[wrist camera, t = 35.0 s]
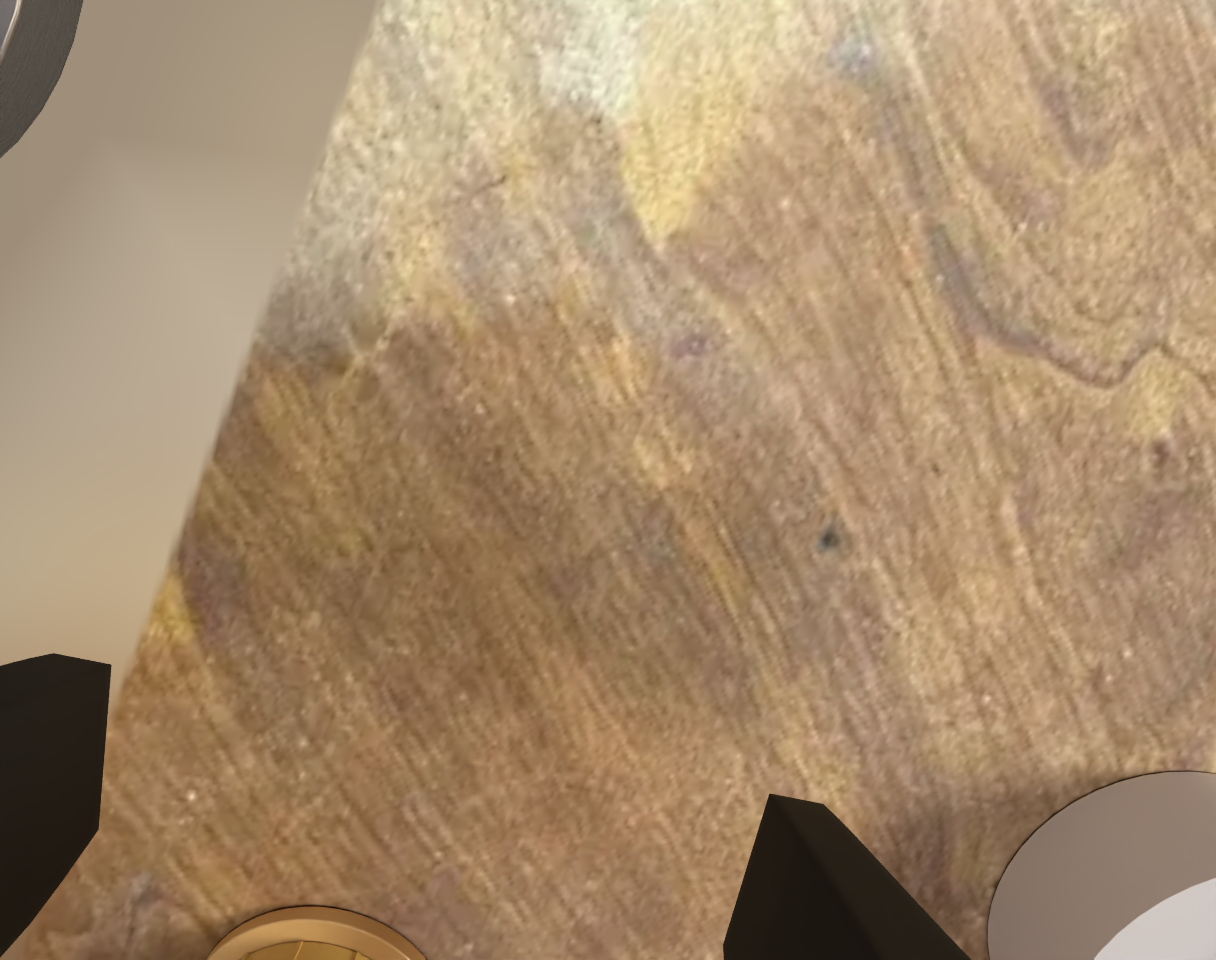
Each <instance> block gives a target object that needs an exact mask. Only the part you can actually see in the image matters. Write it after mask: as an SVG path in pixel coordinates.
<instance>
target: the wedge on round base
mask: <svg viewBox="0 0 1216 960" xmlns="http://www.w3.org/2000/svg"><path fill="white" fill-rule="evenodd" d="M988 948H989V955H990V960H1216V774H1211V773H1201V772H1165V773H1158V774H1151V775H1144V776H1140V777H1136V778H1132V779H1128V780H1124V781H1120V782H1118V783H1115V784H1112V785H1110V786H1107V787H1104V788H1102V789H1099V790H1097V791H1095V792H1093V793H1091V794H1089V795H1087V796H1085V797H1083V798H1081V799H1079V800H1077V801H1075V802H1074V803H1072V804H1071V805H1069V806H1068V807H1066V808H1065V809H1063V810H1062V811H1060V812H1059V813H1057V814H1056V815H1054V816H1053V817H1052V818H1051V819H1050V820H1048V821H1047V822H1046V823H1045V824H1044V825H1043V826H1041V827H1040V828H1039V829H1038V830H1037V831H1036V832H1035V833H1034V834H1033V835H1032V836H1031V837H1030V838H1029V839H1028V840H1027V842H1026V843H1025V844H1024V845H1023V846H1022V847H1021V848H1020V850H1019V851H1018V852H1017V854H1016V855H1015V857H1014V858H1013V860H1012V861H1011V862H1010V864H1009V865H1008V867H1007V869H1006V871H1005V873H1004V875H1003V877H1002V878H1001V880H1000V882H999V884H998V887H997V890H996V893H995V895H994V898H993V901H992V904H991V910H990V915H989V920H988Z"/></svg>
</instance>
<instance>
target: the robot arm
mask: <svg viewBox="0 0 1216 960" xmlns="http://www.w3.org/2000/svg"><path fill="white" fill-rule="evenodd" d="M110 677H111V665H110V664H105V663H100V662H95V661H90V660H85V659H80V658H75V657H69V656H64V655H59V654H54V653H53V654H48V655H43V656H39V657H34V658H29V659H25V660H21V661H17V662H13V663H10V664H6V665H2V666H0V957H1V956H2V955H3V954H4V953H5V951H6V950H7V949H8V948H9V947H10V946H11V945H12V944H13V942H14V941H15V940H16V939H17V938H18V937H19V936H20V935H21V933H22V932H23V931H24V930H25V929H26V928H27V927H28V926H29V924H30V923H31V922H32V921H33V919H34V918H35V917H36V915H37V914H38V913H39V911H40V910H41V909H42V907H43V906H44V905H45V903H46V902H47V901H48V899H49V898H50V897H51V895H52V894H53V893H54V891H55V890H56V889H57V887H58V886H59V885H60V883H61V882H62V881H63V879H64V878H65V876H66V875H67V874H68V872H69V871H70V869H71V868H72V866H73V865H74V864H75V862H76V861H77V859H78V858H79V857H80V855H81V854H82V852H83V851H84V849H85V848H86V847H87V845H88V844H89V842H90V841H91V839H92V838H93V837H94V835H95V834H96V832H97V831H98V829H99V816H100V803H101V791H102V778H103V765H104V753H105V740H106V727H107V715H108V702H109V689H110ZM723 952H724V960H971V959H970V958H969V957H968V956H967V955H966V954H965V953H964V952H963V951H962V950H961V949H960V948H959V946H958V945H957V944H956V943H955V942H954V941H953V940H952V939H951V938H950V937H949V936H948V935H947V934H946V933H945V932H944V931H943V930H942V929H941V928H940V926H939V925H938V924H937V923H936V922H935V921H934V920H933V919H932V918H931V917H930V916H929V915H928V914H927V913H926V912H925V910H924V909H923V908H922V907H921V906H920V905H919V904H918V903H917V902H916V901H915V900H914V899H913V898H912V897H911V895H910V894H909V893H908V892H907V891H906V890H905V889H904V888H903V887H902V886H901V885H900V884H899V882H898V881H897V880H896V879H895V878H894V877H893V876H892V875H891V874H890V873H889V872H888V871H887V870H886V868H885V867H884V866H883V865H882V864H881V863H880V862H879V861H878V860H877V859H876V858H875V857H874V855H873V854H872V853H871V852H870V851H869V850H868V849H867V848H866V847H865V846H864V845H863V844H862V843H861V842H860V841H859V839H858V838H857V837H856V836H855V835H854V834H853V833H852V832H851V831H850V830H849V829H848V828H847V827H846V826H845V825H844V824H843V823H842V822H841V821H840V820H839V819H838V818H837V817H836V816H835V815H834V814H833V813H832V812H831V811H830V810H829V809H828V808H827V807H826V806H825V805H824V804H821V803H816V802H811V801H805V800H800V799H795V798H790V797H785V796H780V795H775V794H769V797H768V800H767V803H766V807H765V810H764V813H763V817H762V820H761V823H760V826H759V830H758V833H757V836H756V839H755V843H754V846H753V849H752V852H751V856H750V859H749V862H748V865H747V869H746V872H745V875H744V878H743V882H742V885H741V888H740V892H739V895H738V898H737V901H736V905H735V908H734V911H733V914H732V918H731V921H730V924H729V927H728V931H727V934H726V937H725V940H724V944H723Z"/></svg>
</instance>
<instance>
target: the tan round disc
mask: <svg viewBox="0 0 1216 960" xmlns="http://www.w3.org/2000/svg"><path fill="white" fill-rule="evenodd" d="M299 941H303V942H320V943H327V944H332V945H336V946H340V947H344V948H347V949H349V950H352V951H355V952H358V953H361V955H364V956H366V957H367V958H369V959H371V960H426V959H425V958H424V956H423V955H422V954H421V953H420V952H419V951H418V950H417V949H416V948H415V947H414V946H413V945H412V944H411V943H410V942H409V941H407V940H406V939H405V938H404V937H402V936H401V935H400V934H399V933H397V932H395V931H394V930H392V929H390V928H389V927H387V926H386V925H384V924H382V923H379V922H377V921H375V920H373V919H371V918H368V917H366V916H363V915H360V914H357V913H354V912H349V911H345V910H341V909H335V908H326V907H296V908H287V909H282V910H278V911H273V912H269V913H267V914H264V915H261V916H258V917H256V918H254V919H252V920H250V921H248V922H246V923H244V924H242V925H240V926H239V927H237V928H236V929H235V930H233V931H232V932H230V933H229V934H228V935H227V936H225V937H224V938H223V939H222V940H221V941H220V942H219V943H218V944H217V945H216V947H215V948H214V949H213V950H212V952H211V953H210V954H209V956H208V957H207V959H206V960H241V959H243V957H244V955H245V954H247V953H248V954H251V953H254V952H256V951H258V950H260V949H263V948H266V947H269V946H273V945H277V944H282V943H288V942H299Z"/></svg>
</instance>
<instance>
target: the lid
mask: <svg viewBox="0 0 1216 960" xmlns="http://www.w3.org/2000/svg"><path fill="white" fill-rule="evenodd" d="M241 960H371V959H369V958H367V957H366V956H364V955H361V953H358V952H355V951H352V950H349V949H347V948H344V947H340V946H336V945H332V944H327V943H320V942H303V941H299V942H288V943H282V944H277V945H273V946H269V947H266V948H263V949H260V950H258V951H256V952H254V953H251V954H248V953H247V954H245V955H244V957H243V959H241Z"/></svg>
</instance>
